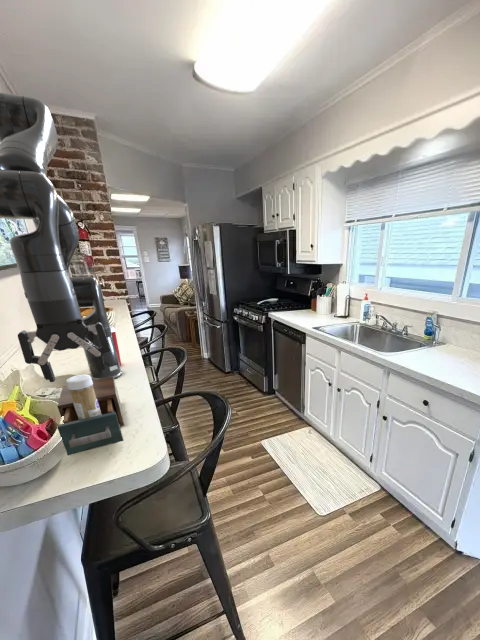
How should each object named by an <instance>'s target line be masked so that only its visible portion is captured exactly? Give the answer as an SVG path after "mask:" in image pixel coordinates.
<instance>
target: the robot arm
mask: <svg viewBox="0 0 480 640" xmlns="http://www.w3.org/2000/svg"><path fill="white" fill-rule="evenodd" d="M58 145H59V139H58V133H57V128H56V125H55V120H54V118H53V116H52V114H51V112H50V109H49V107H48V106H47V105H46V104H45V103H44V102H43V101H42V100H40V99H39V98H35V97H32V96H27V95H23V94H22V95H20V94H14V93H9V92H3V91H0V218H2V219H7V220H32V221H33V224H34V227H35V230H34V231H31V232H27V233H23V234H22V233H21V234H17V235H14V236H12V237H11V238H9V239H10V240H9V244H10V248H11V251H12V254H13V257H14V260H15V264H16V266H17V269H18V272H19V275H20V279H21V285H22V288H23V291H24V295H25V296H24V297H25V298H26V301H27V303H28V305H29V309H30V311H31V314H32V318H33V320H34V323H35V326H36V330H32V331H27V330H21V331H20V332H18V333H17V340H18V342H19V343H18V344H19V346H20V349H21V352H22V357H23V359H24V362H25V364H28V365H31V364H32V365H33V364H34V365H38V366H39V367H40V370H41V373H42V376H43V378H44V379H45V380H46V381H49V383H54V382H56V376H55V374H54V371H53V367H52V365H51V362H50V361H48V360H49V358H50V356H51V354H52V352H53V350H56V351H59V352H61V351H65V350H74V349H78V348H79V347H81V348H83V352H84V356H85V358H86V359H85V360H86V362H87V365H88V369H89V373H90V376H91V379H92V380H98V379H103V378H109V377H114V379H116V378H119V377H121V375H122V374H123V371H122V368H121V366H120V364H119V360H118V356H117V352H116V348H115V345H114V341H113V337H112V333H111V329H110V326H111V325H110V321H109V318H108V315H107V311H106V306H105V299H104V295H103V290H102V286H101V283H100V281H99V280H98V278H97V277H96V276H73V277H72V276H71V277H70V275H69V268H70V265H71V260H72V259H73V256H74V254H75V253H76V250H77V247H78V245H79V241H80V232H79V229H78V225H77V223H76V220H75V219H76V218H75V216H74V212H73V210H72V208H71V207H70V206H69V204H68V203H67V202H66V201H65V200H64V199H63V198H62V197H61V195H59V194H58V191H57V190H56V187H55V185H54V184H53V183H52V182H51V180H50V179H49V178H48V167H49V166H48V165H49V163H50V162H51V160H52V159H53V157H54V156H55V153H56V151H57V150H58ZM83 308H93V311H92V312H91V313H89V314H87V315H86V316H85V317H83V316H82V312H81V309H83ZM36 337H37V339H39V340H41V341H42V342H43V343H45V344H46V345H45V347H44V349H43V351H42V353H41V355H35V351H34V348H33V345H32V343H34V342H35V338H36Z"/></svg>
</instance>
